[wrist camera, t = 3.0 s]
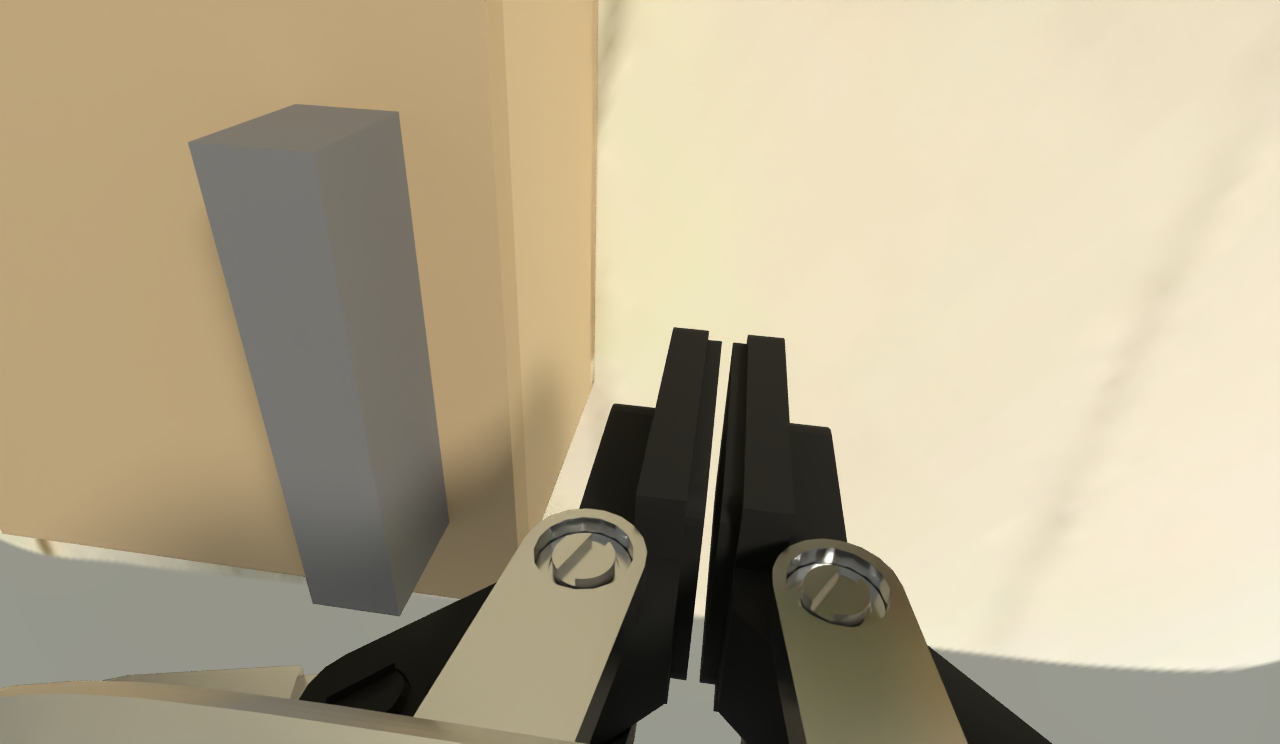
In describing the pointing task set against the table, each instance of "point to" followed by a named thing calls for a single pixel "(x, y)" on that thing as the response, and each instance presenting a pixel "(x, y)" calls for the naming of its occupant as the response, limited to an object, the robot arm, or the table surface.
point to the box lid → (263, 289)
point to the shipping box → (553, 222)
